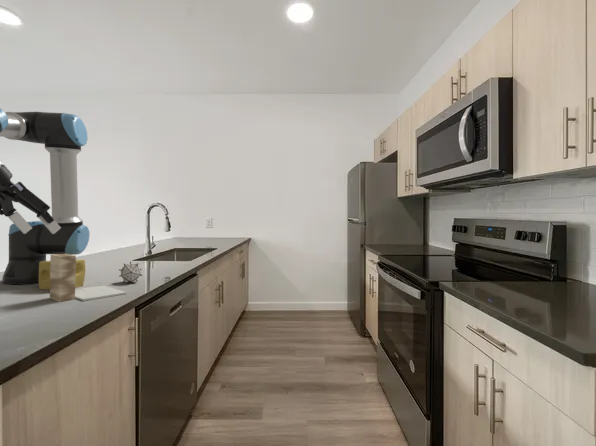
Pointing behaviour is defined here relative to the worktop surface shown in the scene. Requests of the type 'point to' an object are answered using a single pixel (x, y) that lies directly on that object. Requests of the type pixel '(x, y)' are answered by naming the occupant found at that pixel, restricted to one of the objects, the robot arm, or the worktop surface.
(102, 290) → the rubber mat
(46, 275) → the cheese
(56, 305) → the worktop surface
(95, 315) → the worktop surface
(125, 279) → the game die
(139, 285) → the worktop surface
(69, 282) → the maple block
